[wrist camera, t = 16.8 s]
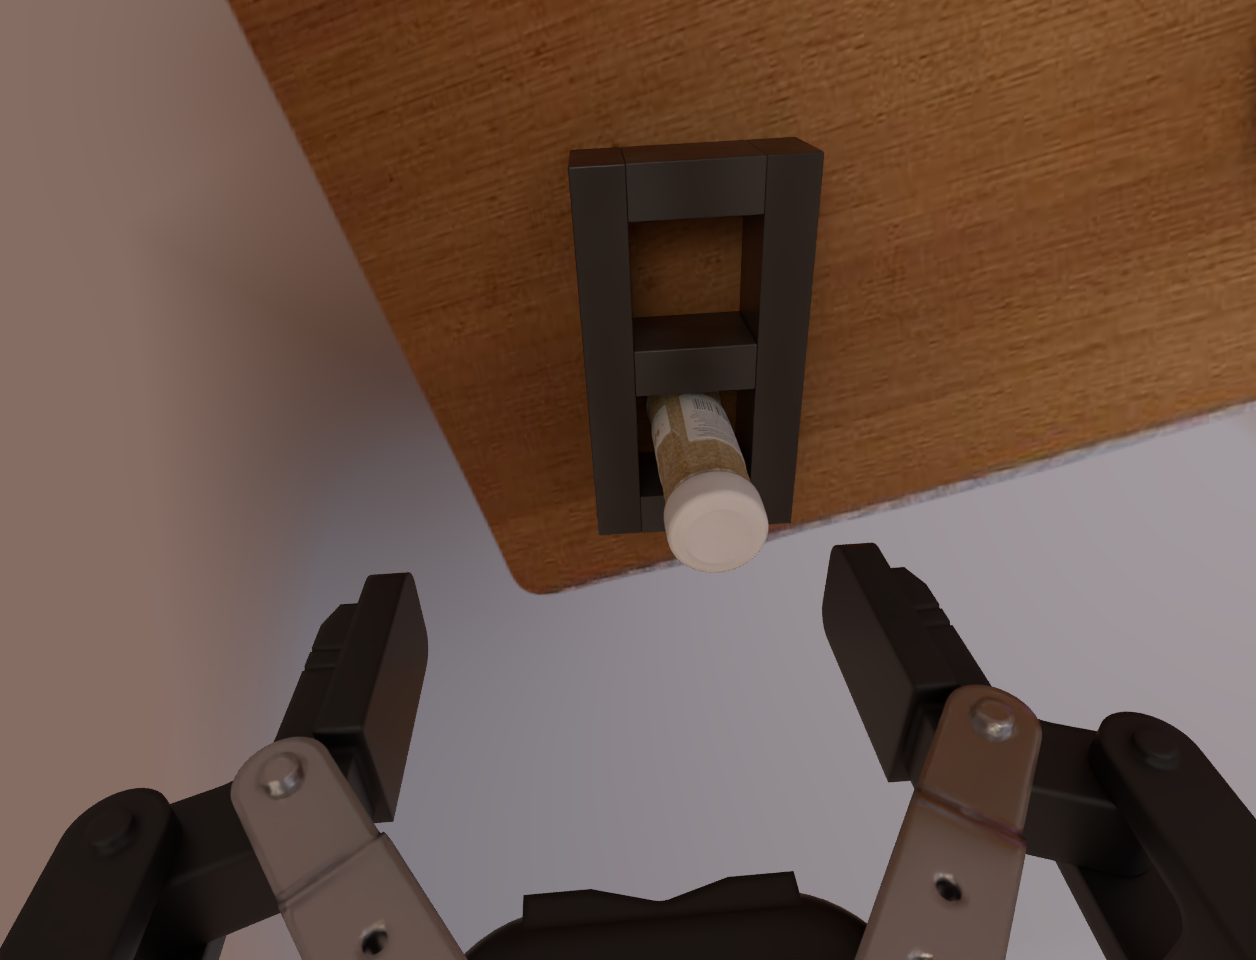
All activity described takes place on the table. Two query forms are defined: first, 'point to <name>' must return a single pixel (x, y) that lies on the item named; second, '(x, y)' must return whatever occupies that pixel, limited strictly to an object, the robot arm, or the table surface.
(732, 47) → the table surface
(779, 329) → the holder
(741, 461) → the spice jar
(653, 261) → the table surface
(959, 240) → the table surface
